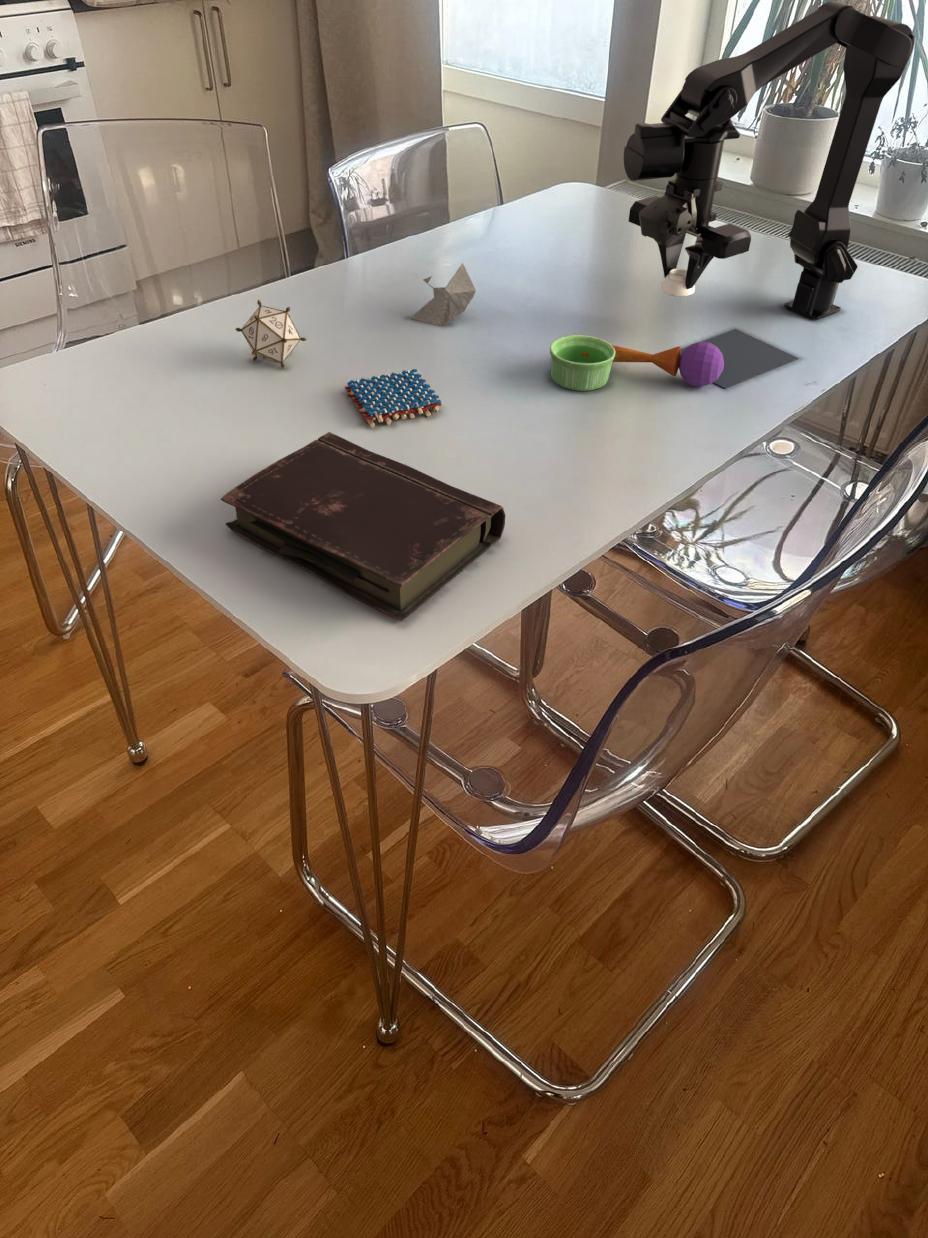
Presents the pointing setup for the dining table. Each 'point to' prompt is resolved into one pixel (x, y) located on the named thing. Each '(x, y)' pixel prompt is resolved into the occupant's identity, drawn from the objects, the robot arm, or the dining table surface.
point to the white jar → (676, 283)
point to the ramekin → (581, 362)
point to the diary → (365, 522)
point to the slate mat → (745, 357)
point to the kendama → (680, 361)
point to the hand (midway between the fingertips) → (678, 284)
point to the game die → (271, 334)
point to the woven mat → (392, 396)
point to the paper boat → (448, 299)
